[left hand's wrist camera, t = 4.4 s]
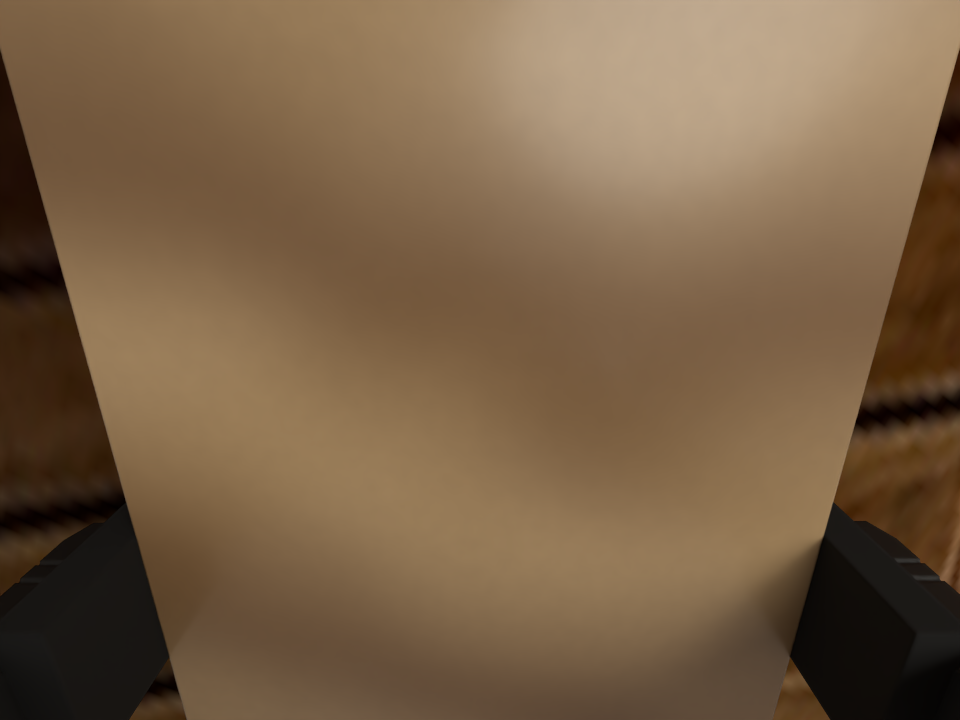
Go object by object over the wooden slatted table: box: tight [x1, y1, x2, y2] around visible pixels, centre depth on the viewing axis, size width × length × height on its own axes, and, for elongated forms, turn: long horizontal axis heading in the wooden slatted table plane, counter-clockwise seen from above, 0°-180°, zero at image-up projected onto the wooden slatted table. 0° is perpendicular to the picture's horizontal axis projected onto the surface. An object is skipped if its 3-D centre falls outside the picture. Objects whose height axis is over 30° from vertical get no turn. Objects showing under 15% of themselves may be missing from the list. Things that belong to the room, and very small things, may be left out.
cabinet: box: [0, 0, 960, 720], centre depth 11 cm, size 20×11×8 cm, turn 0°
